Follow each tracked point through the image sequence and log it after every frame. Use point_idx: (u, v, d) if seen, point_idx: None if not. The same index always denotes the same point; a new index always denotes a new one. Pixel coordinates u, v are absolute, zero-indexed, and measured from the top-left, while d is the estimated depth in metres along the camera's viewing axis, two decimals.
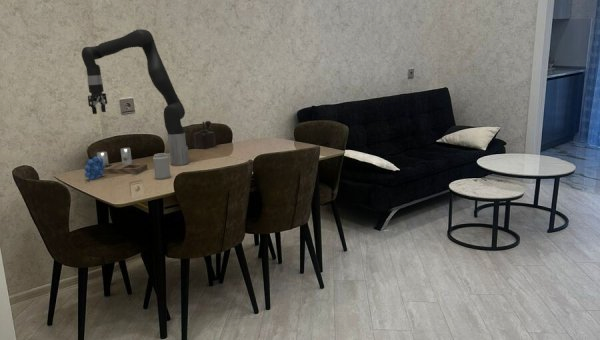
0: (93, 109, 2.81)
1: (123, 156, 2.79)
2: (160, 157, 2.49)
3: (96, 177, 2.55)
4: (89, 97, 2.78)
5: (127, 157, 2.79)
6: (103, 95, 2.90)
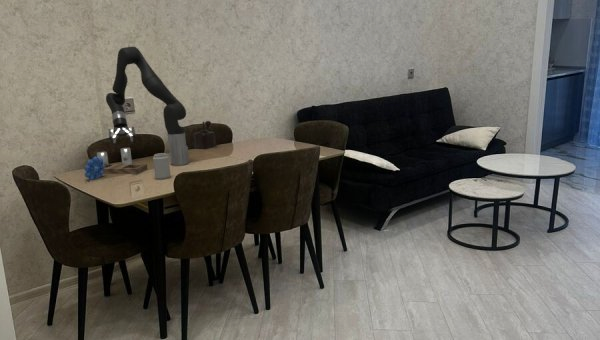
0: (113, 140, 2.86)
1: (123, 156, 2.79)
2: (160, 157, 2.49)
3: (96, 177, 2.55)
4: None
5: (127, 157, 2.79)
6: (131, 129, 2.93)
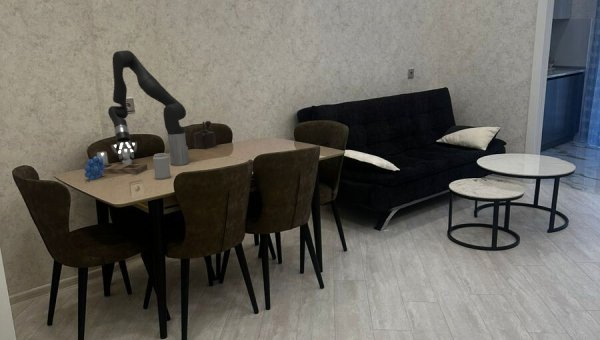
0: (119, 156, 2.79)
1: (123, 156, 2.79)
2: (160, 157, 2.49)
3: (96, 177, 2.55)
4: None
5: (127, 157, 2.79)
6: (134, 144, 2.86)
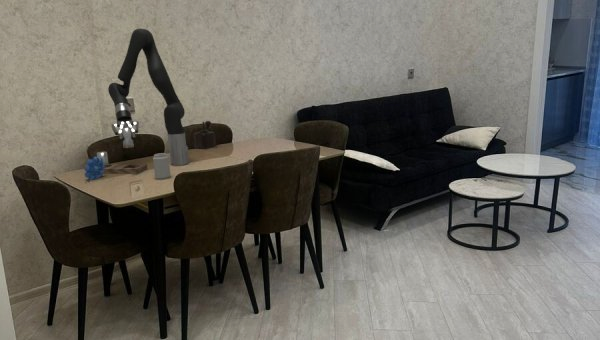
0: (119, 136, 2.62)
1: (124, 136, 2.61)
2: (160, 157, 2.49)
3: (96, 177, 2.55)
4: (112, 127, 2.64)
5: (128, 137, 2.62)
6: None
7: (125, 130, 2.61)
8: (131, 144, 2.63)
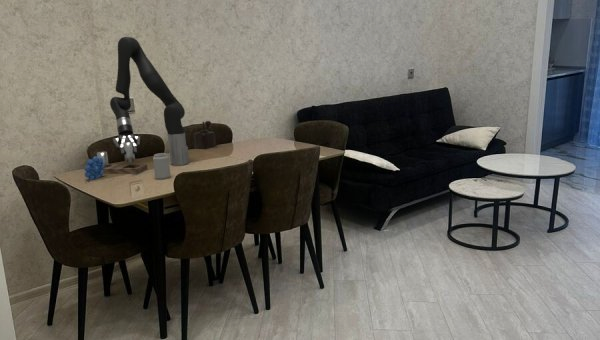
0: (121, 150, 2.64)
1: (125, 150, 2.63)
2: (160, 157, 2.49)
3: (96, 177, 2.55)
4: (113, 141, 2.66)
5: (130, 152, 2.63)
6: (137, 137, 2.70)
7: (127, 144, 2.62)
8: (132, 158, 2.65)
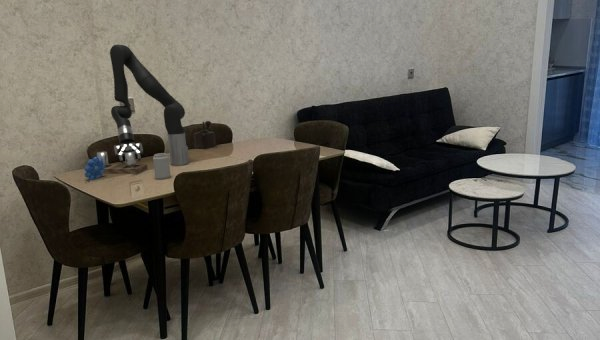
0: None
1: (127, 160, 2.64)
2: (160, 157, 2.49)
3: (96, 177, 2.55)
4: (114, 148, 2.67)
5: (132, 162, 2.65)
6: (138, 145, 2.71)
7: (128, 155, 2.63)
8: None
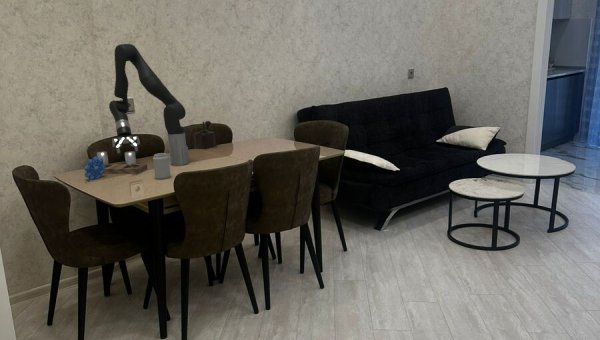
0: (117, 150, 2.74)
1: (127, 160, 2.64)
2: (160, 157, 2.49)
3: (96, 177, 2.55)
4: (112, 141, 2.77)
5: (132, 162, 2.65)
6: (135, 138, 2.81)
7: (128, 155, 2.63)
8: None
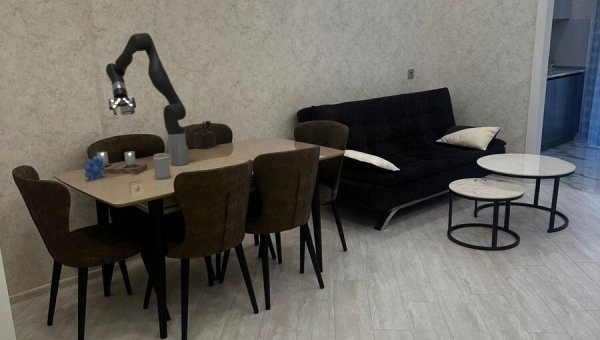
0: (113, 110, 2.82)
1: (127, 160, 2.64)
2: (160, 157, 2.49)
3: (96, 177, 2.55)
4: None
5: (132, 162, 2.65)
6: (131, 99, 2.89)
7: (128, 155, 2.63)
8: None
